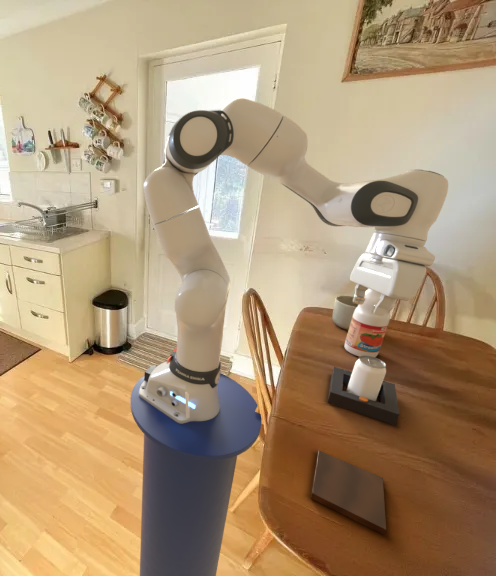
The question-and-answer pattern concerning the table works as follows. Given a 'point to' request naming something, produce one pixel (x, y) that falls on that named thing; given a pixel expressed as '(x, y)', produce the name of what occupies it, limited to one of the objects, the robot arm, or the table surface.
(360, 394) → the can
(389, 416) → the processor base
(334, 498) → the board
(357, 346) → the fruit juice
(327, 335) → the table surface
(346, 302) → the planter
